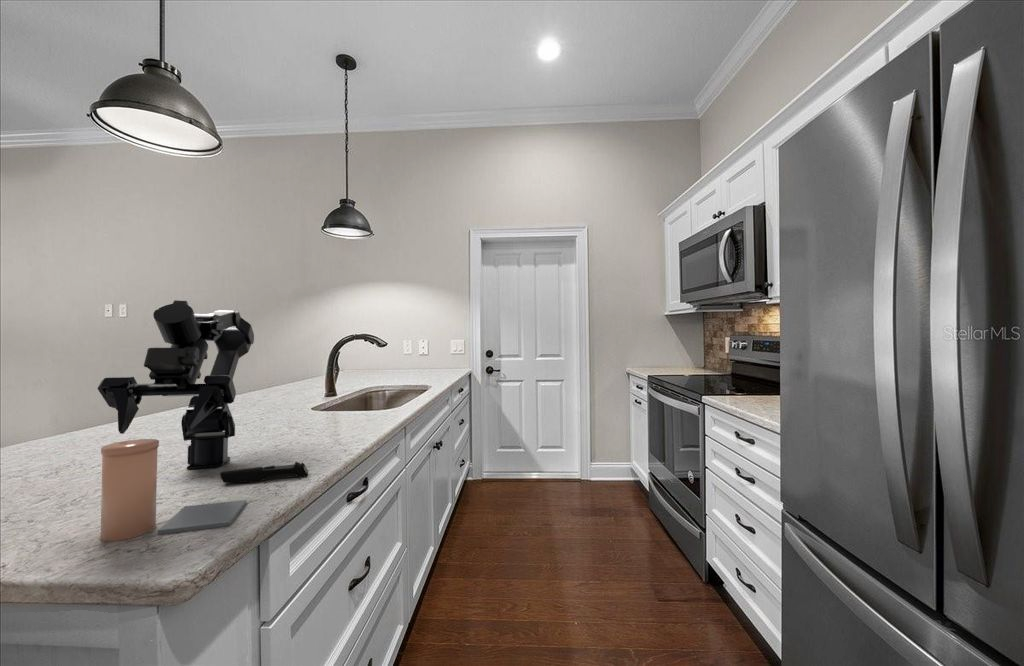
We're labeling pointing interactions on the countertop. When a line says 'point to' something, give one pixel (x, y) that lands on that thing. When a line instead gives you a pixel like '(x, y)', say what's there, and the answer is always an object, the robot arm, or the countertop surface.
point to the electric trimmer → (264, 473)
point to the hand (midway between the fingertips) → (155, 430)
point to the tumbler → (128, 489)
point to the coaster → (203, 517)
